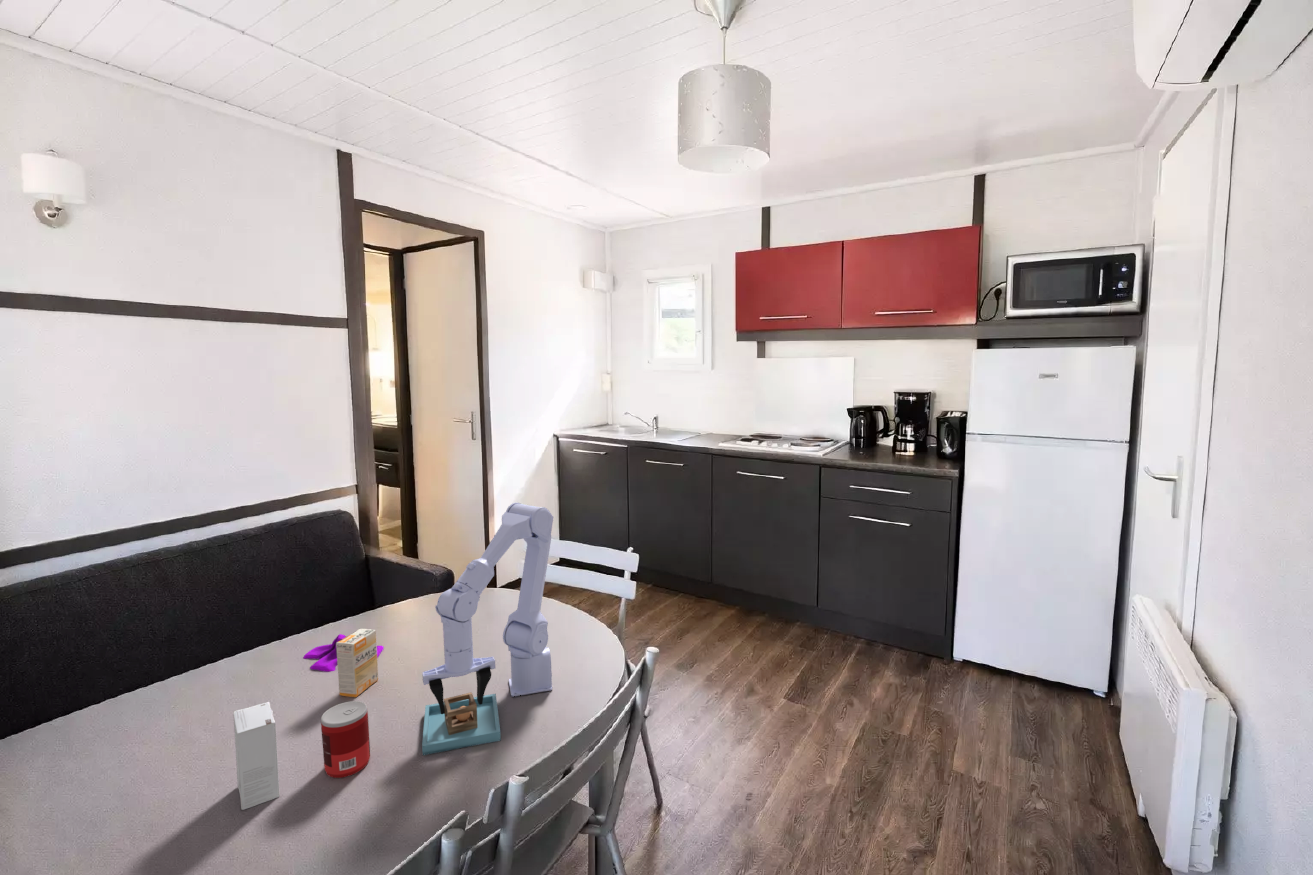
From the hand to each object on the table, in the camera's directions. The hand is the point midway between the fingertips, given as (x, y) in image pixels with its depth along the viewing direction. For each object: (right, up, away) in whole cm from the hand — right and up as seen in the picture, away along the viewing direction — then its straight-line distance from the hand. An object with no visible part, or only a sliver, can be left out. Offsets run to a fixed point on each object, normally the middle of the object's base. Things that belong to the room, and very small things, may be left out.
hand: (461, 706), depth 128 cm
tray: (0, -5, 0) cm, 5 cm away
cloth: (-43, -1, +34) cm, 54 cm away
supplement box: (-29, -3, +16) cm, 34 cm away
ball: (0, -2, +1) cm, 2 cm away
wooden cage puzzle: (0, -4, 0) cm, 4 cm away
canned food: (-18, -6, -12) cm, 22 cm away
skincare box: (-30, -7, -19) cm, 36 cm away
